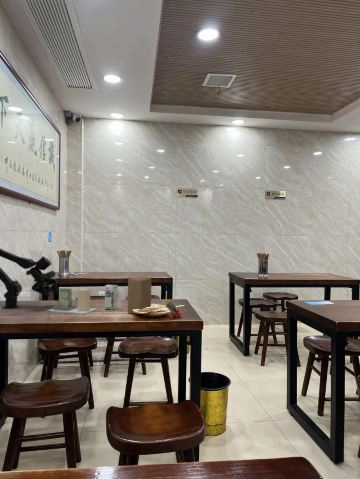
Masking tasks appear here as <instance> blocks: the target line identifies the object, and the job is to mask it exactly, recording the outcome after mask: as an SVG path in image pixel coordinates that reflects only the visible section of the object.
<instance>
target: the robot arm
mask: <svg viewBox="0 0 360 479" xmlns="http://www.w3.org/2000/svg"><path fill="white" fill-rule="evenodd" d="M0 257H1V258H3V259H6V260H9V261H10V262H12V263H15V264H16V265H17V266H19V267H20V268H22V269H24V270H26V273H25V275H26V276H31V277H32V278H33V279H34V280H33V282H34V284H33V285H32V286H31V290H32V292H35V293H39V294H41V295H43V296H45V297H48V298H49V297H50V296H51V295H50V293H49V292H48V290H47V289H46V287H47V288H48V289H49V290H50V291H51V292H53V293H54V294H56V295H58V296H59V295H60V291H59V289H58V286H57V285H58V283H59V280H58V279H57V278H54V277H56V272H55V270H51V271H48V272H46V273H44V272H42V271H46V270H47V268H49V267H50V266H51V265H52V262H51V260H50V259H48V258H47V257H45V256H41V258H39V260H37V261H34V260H33V259H32V258H28V257H21V256H18V255H16V254H14V253H12V252H10V251H7V250H4V249H3V248H0ZM0 281H1V282H2V283H3V284H4V286H5V289H6V292H5V293H4V294H3V297H4V299H5V302H4V303H5V304H4V306H3V309H14V308H19V307H20V305H18V297H19V295H20V294H21V293H22V291H23V287H22V284H21V283H20V282H19V281H18V280H16V279H15V280H13V279H12V278H10V276H9V275H8V274H7V273H6V272H5V271H4V269H2V267H0Z"/></svg>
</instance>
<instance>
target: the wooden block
mask: <svg viewBox="0 0 360 479" xmlns="http://www.w3.org/2000/svg"><path fill="white" fill-rule="evenodd" d="M127 280H128V281H127V313H128V314H130V313H134V312H133V309H143V308H146V307H150V306H151V307H152V278H150V277H139V276H138V277H137V276H136V277H130V278H128V279H127Z"/></svg>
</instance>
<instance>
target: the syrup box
mask: <svg viewBox="0 0 360 479" xmlns="http://www.w3.org/2000/svg"><path fill="white" fill-rule="evenodd" d="M118 293H119V285H117V284H106V285H105V286H104V310H105V309H110V310H109V311H114V310H113V309H115V310H117V309H118V297H119V296H118V295H119V294H118ZM116 308H117V309H116Z"/></svg>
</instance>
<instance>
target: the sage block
mask: <svg viewBox="0 0 360 479" xmlns="http://www.w3.org/2000/svg"><path fill="white" fill-rule="evenodd" d="M58 296H59V303H58V306H59V308H69V307H72V305H73V300H72V299H73V298H72V297H73V287H62V288H59V295H58Z"/></svg>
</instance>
